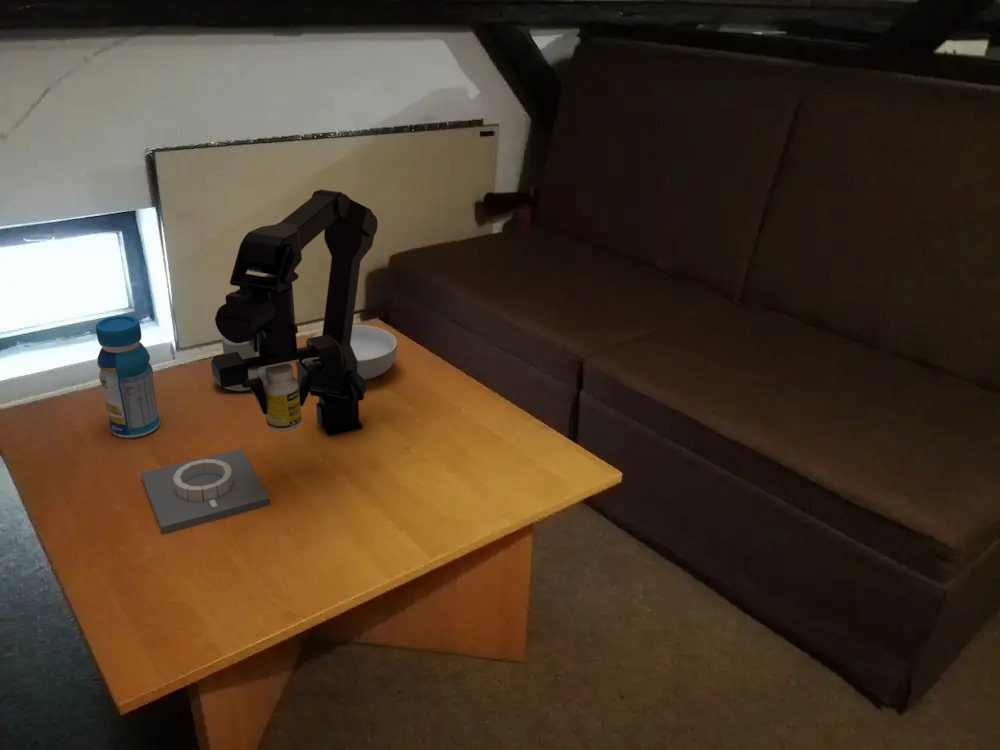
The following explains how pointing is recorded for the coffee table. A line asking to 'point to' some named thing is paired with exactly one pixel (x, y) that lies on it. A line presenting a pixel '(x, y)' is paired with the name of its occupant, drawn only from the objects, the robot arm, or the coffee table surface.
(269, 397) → the supplement bottle
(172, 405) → the coffee table surface
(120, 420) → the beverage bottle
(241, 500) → the mount plate
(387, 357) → the cereal bowl
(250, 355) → the air freshener
